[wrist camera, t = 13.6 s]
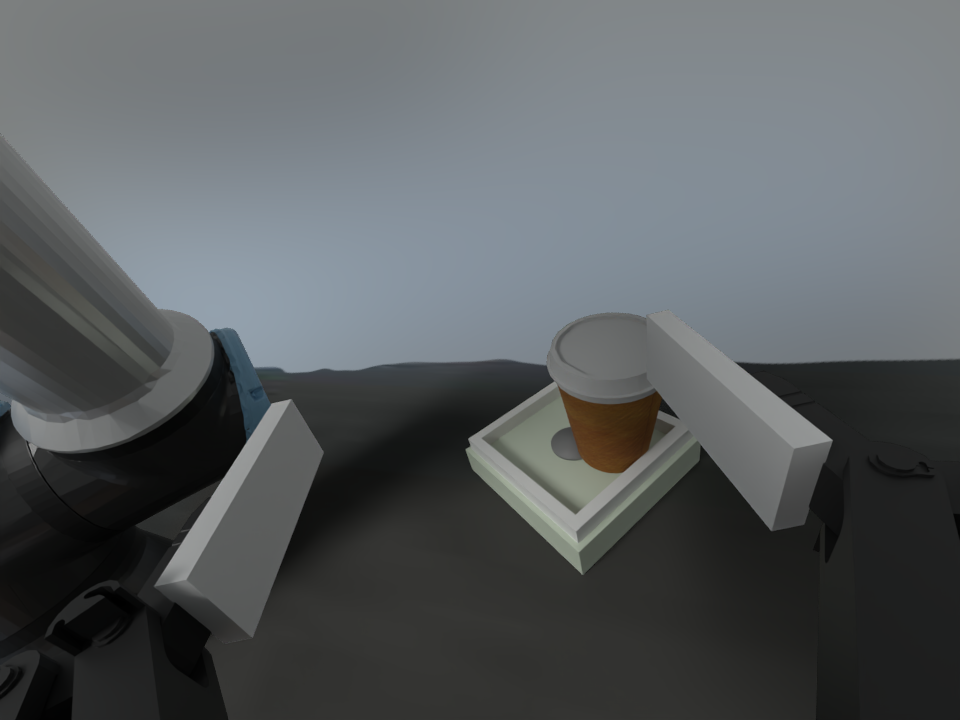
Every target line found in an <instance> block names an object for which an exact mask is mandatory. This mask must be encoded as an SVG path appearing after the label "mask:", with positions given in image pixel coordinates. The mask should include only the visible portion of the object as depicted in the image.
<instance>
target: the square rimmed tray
mask: <svg viewBox="0 0 960 720" xmlns="http://www.w3.org/2000/svg"><path fill="white" fill-rule="evenodd" d="M565 410H566V409H565V407H564V404H563V401H562V398H561V394H560V391H559V388H558V385H557V384H556V382H555V381H554V382H553V383H551V384H550V385H548V386H547V387H545V388H544V389H542V390H541V391H539V392H538V393H536V394H535V395H533V396H532V397H530V398H529V399H527V400H526V401H524V402H523V403H521V404H520V405H518V406H517V407H515V408H514V409H512V410H511V411H509V412H508V413H506V414H505V415H503V416H502V417H500V418H499V419H497V420H496V421H494V422H493V423H491V424H490V425H488V426H487V427H485V428H484V429H482V430H481V431H479V432H478V433H476V434H475V435H473V436H472V437H470V438H469V439H468V440H469V443H470V447H469V448H467V449H466V453H467V455H468V458H469V461H470V464H471V467H472V469H473V470H474V471H475V472H476V473H477V474H478V475H479V476H480V477H481V478H482V479H483V480H484V481H485V482H486V483H487V484H488V485H489V486H490V487H491V488H492V489H493V490H495V491H496V492H497V493H498V494H499V495H500V496H501V497H502V498H503V499H504V500H505V501H506V502H507V503H508V504H509V505H510V506H511V507H512V508H513V509H514V510H515V511H516V512H518V513H519V514H520V515H521V516H522V517H523V518H524V519H525V520H526V521H527V522H528V523H529V524H530V525H531V526H532V527H533V528H534V529H535V530H536V531H537V532H538V533H539V534H540V535H542V536H543V537H544V538H545V539H546V540H547V541H548V542H549V543H550V544H551V545H552V546H553V547H554V548H555V549H556V550H557V551H558V552H559V553H560V554H561V555H562V556H563V557H564V558H566V559H567V560H568V561H569V562H570V563H571V564H572V565H573V566H574V567H575V568H576V569H577V570H578V571H579V572H580V573H581V574H582V575H584V574H585V573H586V572H587V571H588V570H589V569H590V568H591V567H592V566H593V565H594V564H595V563H596V562H597V561H598V560H599V559H600V558H601V557H602V556H603V555H604V554H605V553H606V552H607V551H608V550H609V549H610V548H611V547H612V546H613V545H614V544H615V543H616V542H617V541H618V540H619V539H620V538H621V537H622V536H623V535H624V534H625V533H626V532H627V531H628V530H629V529H630V528H631V527H632V526H633V525H634V524H636V523H637V522H638V521H639V520H640V519H641V518H642V517H643V516H644V515H645V514H646V513H647V512H648V511H649V510H650V509H651V508H652V507H653V506H654V505H655V504H656V503H657V502H658V501H659V500H660V499H661V498H662V497H663V496H664V495H665V494H666V493H667V492H668V491H669V490H670V489H671V488H672V487H673V486H674V485H675V484H676V483H677V482H678V481H679V480H680V479H681V478H682V477H683V476H684V475H685V474H686V473H687V472H688V471H689V470H690V469H691V468H692V467H693V466H694V465H696V464H697V463H698V462H699V460H700V443H699V442H698V441H697V439H696V438H695V437H694V436H693V435H692V433H691V432H690V431H689V430H688V428H687V427H686V426H685V425H684V424H683V422H682V421H681V420H680V419H677V418H675V417H673V416H670V415H668V414H666V413H664V412H661V411H658V415H657V419H656V423H655V427H654V431H653V434H652V438H651V442H650V446H649V450H648V451H647V452H646V453H645V454H644V455H643V456H641V457H640V458H639V459H638V460H637V461H636V462H635V463H634V464H632V465H631V466H630V467H629V468H628V469H627V470H626V471H624V472H623V473H606V472H602V471H599V470H597V469H594V468H593V467H591V466H589V465H588V464H587V463H586V462H585V461H584V460H583V459H582V458H581V456H580V454H579V452H578V448H577V445H576V441H575V439H574V436H573V432H572V428H571V427H570V423H569V419H568V417H567V413H566V411H565Z"/></svg>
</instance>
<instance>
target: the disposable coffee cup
mask: <svg viewBox="0 0 960 720" xmlns="http://www.w3.org/2000/svg"><path fill="white" fill-rule="evenodd" d="M547 367H548V371H549V374H550V376H551V377H552V378H553V379H554V381H555V382H556V384H557V385H558V388H559V391H560V394H561V398H562V401H563V404H564V407H565V409H566V410H565V411H566V413H567V417H568V419H569V423H570V427H571V428H572V432H573V436H574V439H575V441H576V445H577V448H578V452H579V454H580V456H581V458H582V459H583V460H584V461H585V462H586V463H587V464H588V465H589V466H591V467H593V468H594V469H597V470H599V471H602V472H606V473H623V472H624V471H626V470H627V469H628V468H629V467H630V466H631V465H632V464H634V463H635V462H636V461H637V460H638V459H639V458H640V457H641V456H643V455H644V454H645V453H646V452H647V451H648V450H649V446H650V442H651V438H652V434H653V431H654V427H655V423H656V419H657V415H658V411H659V407H660V404H661V400H662V397H661V395H660V394H659V393H658V392H657V391H656V389H655V388H654V387H653V386H652V384H651V383H650V382H649V381H648V380H647V318H644V317H641V316H638V315H633V314H626V313H601V314H595V315H590V316H587V317H583V318H580V319H578V320H575V321H574V322H572V323H569V324H568V325H566V326H565V327H564V328H562V329H561V330H560V331H559V332H558V333H557V334H556V336H555V337H554V339H553V341H552V345H551V349H550V351H549V353H548V355H547Z"/></svg>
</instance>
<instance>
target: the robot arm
mask: <svg viewBox="0 0 960 720" xmlns="http://www.w3.org/2000/svg"><path fill="white" fill-rule="evenodd" d="M647 380H648V381H649V382H650V383H651V384H652V386H653V387H654V388H655V389H656V391H657V392H658V393H659V394H660V395H661V397H662V398H663V399H664V400H665V402H666V403H667V404H668V405H669V406H670V408H671V409H672V410H673V411H674V413H675V414H676V415H677V416H678V417H679V419H680V420H681V421H682V422H683V424H684V425H685V426H686V427H687V428H688V430H689V431H690V432H691V433H692V435H693V436H694V437H695V438H696V439H697V441H698V442H699V443H700V444H701V446H702V447H703V448H704V449H705V450H706V452H707V453H708V454H709V455H710V457H711V458H712V459H713V460H714V461H715V463H716V464H717V465H718V466H719V468H720V469H721V470H722V471H723V472H724V474H725V475H726V476H727V477H728V479H729V480H730V481H731V482H732V483H733V485H734V486H735V487H736V488H737V490H738V491H739V492H740V493H741V494H742V496H743V497H744V498H745V499H746V501H747V502H748V503H749V504H750V505H751V507H752V508H753V509H754V510H755V512H756V513H757V514H758V515H759V516H760V518H761V519H762V520H763V521H764V523H765V524H766V525H767V526H768V527H769V529H770V530H771V531H775V530H780V529H785V528H790V527H795V526H800V525H804V524H805V521H806V518H807V515H808V512H809V509H811V510H812V511H813V512H814V513H815V514H816V515H817V516H818V517H819V518H820V519H821V520H822V521H823V525H822V528H821V530H820V533H819V536H818V538H817V541H816V543H815V546H814V549H813V550H815V551H817V552H819V551H820V570H819V615H818V661H817V706H816V720H960V462H953V461H931V460H929V459H928V458H927V457H926V456H924V455H922V454H920V453H918V452H916V451H914V450H912V449H910V448H907V447H904V446H900V445H897V444H893V443H887V442H878V441H870V440H868V439H867V438H865V437H864V436H863V435H861V434H860V433H858V432H857V431H856V430H854V429H853V428H852V427H850V426H849V425H847V424H846V423H845V422H843V421H842V420H841V419H839V418H838V417H836V416H835V415H834V414H832V413H831V412H830V411H828V410H827V409H825V408H824V407H823V406H821V405H820V404H818V403H817V404H816V403H815V401H814V400H813V399H812V398H810V397H809V396H807V395H806V394H805V393H804V394H802V392H801V390H799V389H798V388H796V387H795V386H794V385H792V384H791V383H790V382H788V381H787V380H785V379H783V378H781V377H778V376H775V375H773V374H770V373H768V372H765V371H761V372H757V373H752V374H749V373H747V372H746V371H745V370H744V369H742V368H741V367H740V366H738V365H737V364H736V363H735V362H733V361H732V360H731V359H729V358H728V357H727V356H726V355H725V354H723V353H722V352H721V351H720V350H718V349H717V348H716V347H714V346H713V345H712V344H711V343H710V342H708V341H707V340H706V339H704V338H703V337H702V336H701V335H699V334H698V333H697V332H695V331H694V330H693V329H692V328H691V327H689V326H688V325H687V324H686V323H684V322H683V321H682V320H680V319H679V318H678V317H677V316H675V315H674V314H673V313H672V312H670V311H669V310H666V311H661V312H657V313H653V314H649V315H647ZM0 393H2V394H3V395H5V396H7V397H9V398H11V399H12V404H11V405H10V404H9V403H8V402H3V401H1V400H0V720H228V716H227V712H226V708H225V705H224V701H223V697H222V693H221V690H220V686H219V682H218V678H217V675H216V671H215V667H214V663H213V660H212V656H211V654H210V653H209V651H208V650H207V649H206V648H205V647H204V646H205V644H206V642H207V640H208V638H209V635H210V633H212V634H213V635H214V636H216V637H217V638H218V639H219V640H220V641H222V642H223V643H224V644H225V643H230V642H235V641H239V640H244V639H249V638H253V635H254V633H255V630H256V627H257V625H258V622H259V620H260V617H261V614H262V612H263V609H264V607H265V604H266V601H267V599H268V596H269V594H270V591H271V588H272V586H273V583H274V580H275V578H276V575H277V573H278V570H279V567H280V565H281V562H282V560H283V557H284V554H285V552H286V549H287V547H288V544H289V541H290V539H291V536H292V534H293V531H294V528H295V526H296V523H297V521H298V518H299V515H300V513H301V510H302V508H303V505H304V502H305V500H306V497H307V495H308V492H309V489H310V487H311V484H312V482H313V479H314V476H315V474H316V471H317V469H318V466H319V463H320V461H321V458H322V456H323V453H324V452H323V450H322V449H321V447H320V445H319V444H318V442H317V440H316V439H315V437H314V436H313V434H312V432H311V431H310V429H309V427H308V426H307V424H306V422H305V421H304V419H303V417H302V416H301V414H300V412H299V411H298V409H297V408H296V406H295V404H294V403H293V401H292V399H290V400H286V401H282V402H277V403H273V404H270V402H269V400H268V398H267V396H266V394H265V392H264V389H263V387H262V385H261V383H260V380H259V378H258V376H257V374H256V372H255V369H254V367H253V365H252V363H251V361H250V359H249V357H248V355H247V352H246V350H245V348H244V346H243V344H242V342H241V340H240V338H239V336H238V334H237V332H236V331H235V330H233V329H231V328H224V329H214V330H211V331H210V332H208V331H207V329H206V328H205V327H204V326H203V325H202V324H201V323H199V322H198V321H197V320H196V319H194V318H192V317H191V316H189V315H186V314H183V313H180V312H176V311H172V310H163V309H157V308H156V307H155V306H154V304H153V303H152V302H151V301H150V300H149V299H148V298H147V297H146V295H145V294H144V293H143V292H142V291H141V290H140V289H139V288H138V287H137V285H136V284H135V283H134V282H133V281H132V280H131V279H130V278H129V277H128V275H127V274H126V273H125V272H124V271H123V270H122V269H121V268H120V267H119V265H118V264H117V263H116V262H115V261H114V260H113V259H112V258H111V256H110V255H109V254H108V253H107V252H106V251H105V250H104V249H103V248H102V246H101V245H100V244H99V243H98V242H97V241H96V240H95V239H94V238H93V236H91V234H90V233H89V232H88V231H87V230H86V229H85V227H84V226H83V225H82V224H81V223H80V222H79V221H78V220H77V218H75V216H74V215H73V214H72V213H71V212H70V211H69V210H68V209H67V207H66V206H65V205H64V204H63V203H62V202H61V201H60V200H59V198H58V197H57V196H56V195H55V194H54V193H53V192H52V191H51V190H50V188H49V187H48V186H47V185H46V184H45V183H44V182H43V181H42V179H41V178H40V177H39V176H38V175H37V174H36V173H35V172H34V171H33V170H32V168H31V167H30V166H29V165H28V164H27V163H26V162H25V161H24V159H23V158H22V157H21V156H20V155H19V154H18V153H17V152H16V150H15V149H14V148H13V147H12V146H11V145H10V144H9V143H8V142H7V140H6V139H5V138H4V137H3V136H2V135H1V134H0ZM10 407H11V408H10ZM223 478H224V479H223ZM221 479H223V480H222V482H221V483H220V485H219V486H218V488H217V489H216V491H215V493H214V494H213V496H212V497H209V498H207V499H206V500H205V501H204V502H203V503H202V504H201V505H200V506H199V507H198V508H197V509H196V510H195V511H194V512H193V513H192V514H191V516H190V517H189V519H188V520H187V522H186V523H185V525H184V526H183V528H182V529H181V533H179V534H178V535H177V537H176V538H175V540H171V539H168V538H165V537H162V536H159V535H156V534H154V533H151V532H148V531H145V530H142V529H140V528H138V527H136V526H135V525H136V524H138V523H140V522H142V521H144V520H146V519H147V518H149V517H151V516H153V515H155V514H157V513H159V512H160V511H162V510H164V509H166V508H168V507H170V506H172V505H174V504H175V503H177V502H179V501H181V500H183V499H185V498H187V497H189V496H190V495H192V494H194V493H196V492H198V491H200V490H202V489H204V488H206V487H208V486H210V485H212V484H214V483H215V482H217V481H219V480H221Z"/></svg>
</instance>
